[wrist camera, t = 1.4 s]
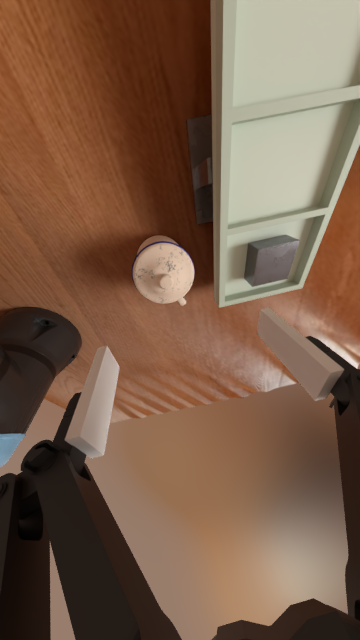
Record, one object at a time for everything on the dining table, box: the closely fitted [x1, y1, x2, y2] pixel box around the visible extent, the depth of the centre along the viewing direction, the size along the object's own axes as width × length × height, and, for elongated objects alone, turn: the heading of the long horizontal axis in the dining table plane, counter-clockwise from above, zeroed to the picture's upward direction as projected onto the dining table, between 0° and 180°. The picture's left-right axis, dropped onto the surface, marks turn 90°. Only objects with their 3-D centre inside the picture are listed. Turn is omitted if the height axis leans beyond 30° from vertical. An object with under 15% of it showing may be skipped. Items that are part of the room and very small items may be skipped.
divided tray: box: [211, 0, 360, 308], centre depth 19 cm, size 16×38×3 cm, turn 10°
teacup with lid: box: [132, 235, 195, 306], centre depth 27 cm, size 12×9×12 cm
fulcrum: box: [186, 115, 213, 225], centre depth 23 cm, size 18×12×7 cm, turn 100°
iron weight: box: [244, 235, 300, 287], centre depth 26 cm, size 6×6×3 cm
